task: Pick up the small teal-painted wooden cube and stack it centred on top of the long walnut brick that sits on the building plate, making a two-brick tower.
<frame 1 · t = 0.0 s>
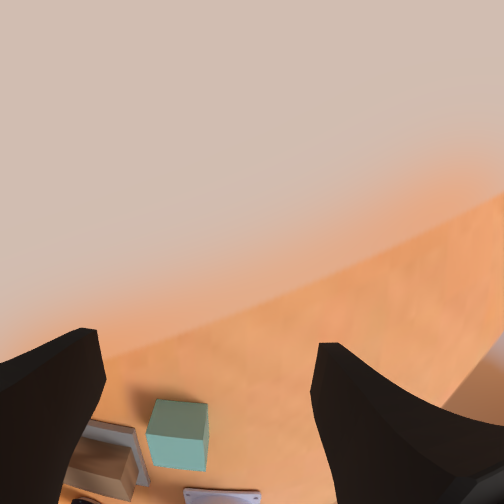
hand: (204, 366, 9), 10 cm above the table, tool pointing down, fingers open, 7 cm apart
building plate: (100, 449, 24), on the table
cube: (183, 418, 22), on the table
walnut brick: (96, 451, 23), point 1 cm above the table, touching building plate
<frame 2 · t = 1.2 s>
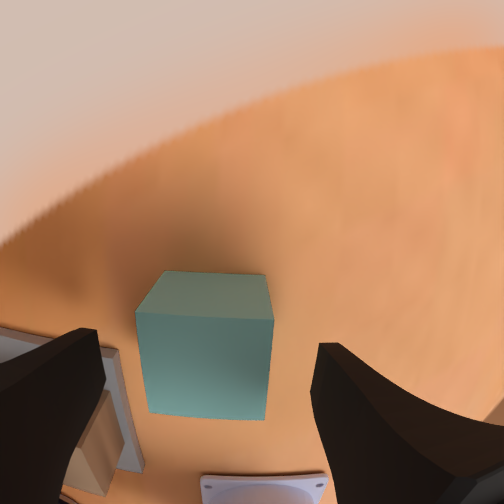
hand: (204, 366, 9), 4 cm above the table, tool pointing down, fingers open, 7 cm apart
building plate: (62, 402, 14), on the table
cube: (213, 317, 13), on the table
walnut brick: (54, 404, 13), point 1 cm above the table, touching building plate
beverage can: (65, 501, 18), on the table
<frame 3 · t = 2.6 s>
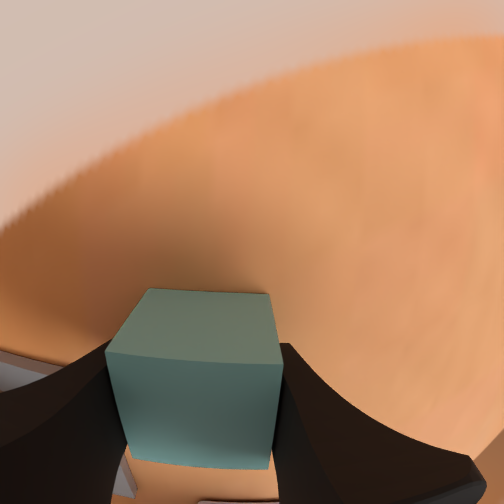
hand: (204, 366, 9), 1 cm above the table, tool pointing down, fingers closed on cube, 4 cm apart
building plate: (46, 424, 12), on the table
cube: (207, 343, 11), on the table, touching gripper
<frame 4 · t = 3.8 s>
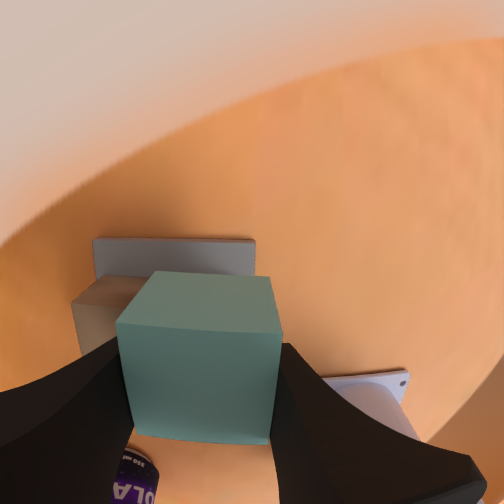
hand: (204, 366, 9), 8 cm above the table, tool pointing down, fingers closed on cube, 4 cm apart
building plate: (175, 313, 18), on the table
cube: (210, 325, 11), point 6 cm above the table, touching gripper
walnut brick: (172, 311, 17), point 1 cm above the table, touching building plate
beverage can: (130, 459, 22), on the table
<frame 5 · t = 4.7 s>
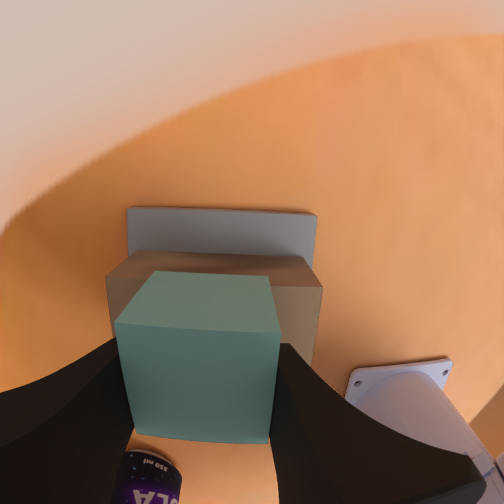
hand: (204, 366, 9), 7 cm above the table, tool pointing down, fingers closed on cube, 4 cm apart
building plate: (218, 296, 16), on the table
cube: (210, 324, 11), point 5 cm above the table, touching gripper, walnut brick
walnut brick: (217, 292, 15), point 1 cm above the table, touching building plate, cube
beverage can: (149, 462, 20), on the table
when the fingers open (7 cm above the table, at t = 5.2 s): cube stays where it is, resting on walnut brick.
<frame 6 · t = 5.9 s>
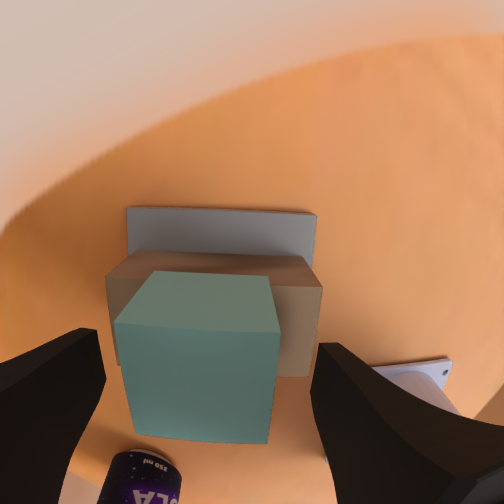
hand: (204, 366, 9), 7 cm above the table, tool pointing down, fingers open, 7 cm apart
building plate: (218, 295, 16), on the table
cube: (209, 324, 11), point 5 cm above the table, touching walnut brick
walnut brick: (217, 292, 15), point 1 cm above the table, touching building plate, cube
beverage can: (149, 462, 20), on the table
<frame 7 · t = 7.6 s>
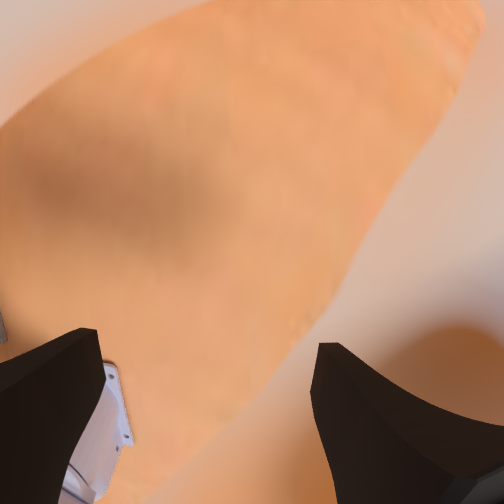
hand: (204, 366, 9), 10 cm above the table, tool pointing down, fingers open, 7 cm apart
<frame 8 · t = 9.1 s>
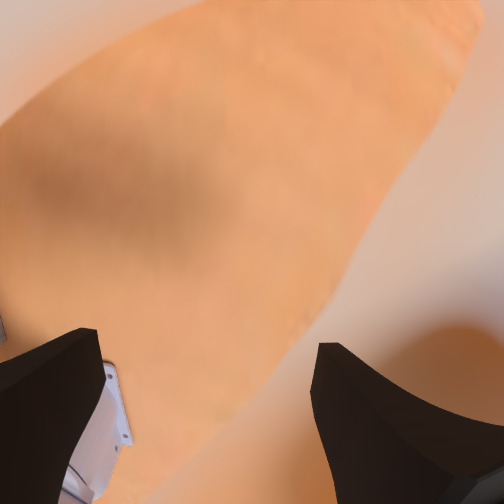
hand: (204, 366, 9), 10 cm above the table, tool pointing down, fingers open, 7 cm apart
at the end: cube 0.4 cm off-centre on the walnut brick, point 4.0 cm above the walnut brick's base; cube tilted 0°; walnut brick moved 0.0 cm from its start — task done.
